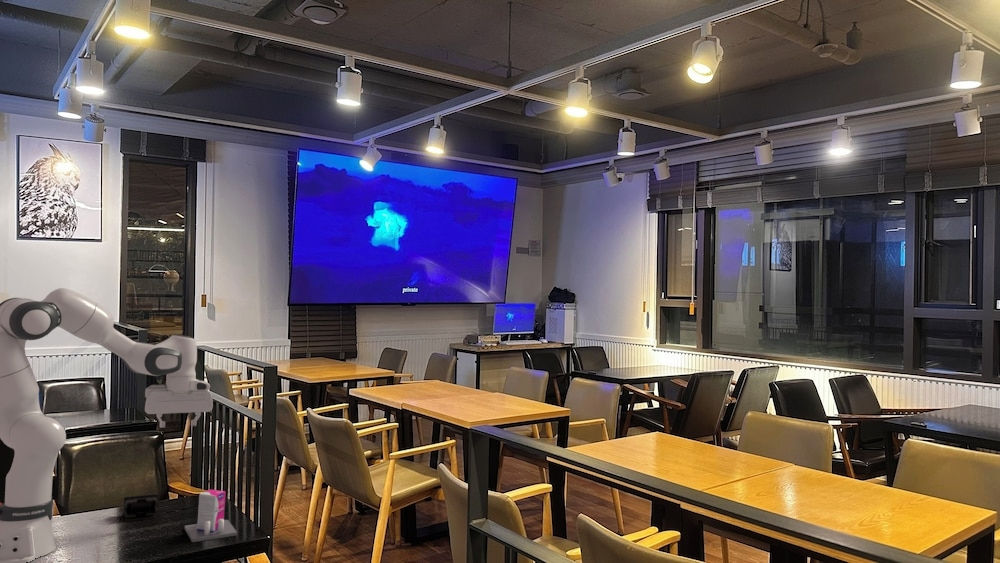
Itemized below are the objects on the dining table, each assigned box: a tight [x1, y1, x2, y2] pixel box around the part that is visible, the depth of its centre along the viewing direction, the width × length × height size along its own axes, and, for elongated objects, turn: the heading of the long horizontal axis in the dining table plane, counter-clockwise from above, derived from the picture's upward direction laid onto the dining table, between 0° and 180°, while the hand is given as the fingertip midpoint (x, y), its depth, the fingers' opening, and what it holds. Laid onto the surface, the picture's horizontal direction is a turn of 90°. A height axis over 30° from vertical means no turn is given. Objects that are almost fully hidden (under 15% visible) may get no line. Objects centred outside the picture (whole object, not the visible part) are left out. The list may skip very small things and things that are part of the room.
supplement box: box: [196, 489, 227, 533], centre depth 221 cm, size 6×6×12 cm
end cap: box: [122, 493, 159, 522], centre depth 233 cm, size 10×7×7 cm
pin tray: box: [184, 518, 238, 543], centre depth 221 cm, size 13×13×5 cm
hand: (178, 426), depth 232 cm, fingers open, 8 cm apart
